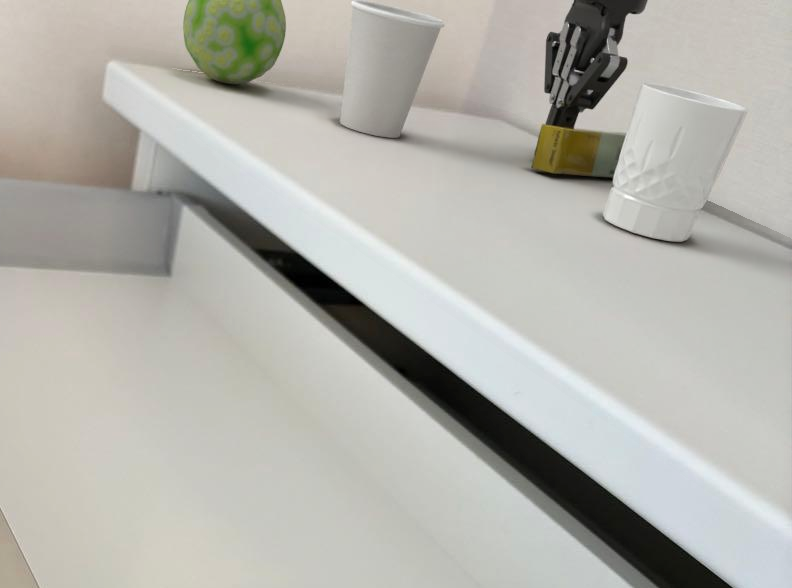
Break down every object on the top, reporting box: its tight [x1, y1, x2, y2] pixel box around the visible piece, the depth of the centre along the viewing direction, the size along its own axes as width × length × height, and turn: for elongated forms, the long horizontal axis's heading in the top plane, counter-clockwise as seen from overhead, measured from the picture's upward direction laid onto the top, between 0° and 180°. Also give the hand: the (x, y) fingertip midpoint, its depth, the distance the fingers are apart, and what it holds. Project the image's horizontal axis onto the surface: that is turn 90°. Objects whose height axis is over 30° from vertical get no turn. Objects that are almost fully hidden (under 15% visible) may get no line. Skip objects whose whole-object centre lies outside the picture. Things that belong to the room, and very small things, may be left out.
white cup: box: [602, 82, 749, 243], centre depth 84 cm, size 8×8×10 cm
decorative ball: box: [182, 0, 287, 85], centre depth 104 cm, size 10×10×10 cm
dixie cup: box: [339, 0, 445, 139], centre depth 98 cm, size 8×8×10 cm
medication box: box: [530, 123, 627, 179], centre depth 101 cm, size 12×3×4 cm, turn 127°
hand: (551, 149), depth 104 cm, fingers closed
